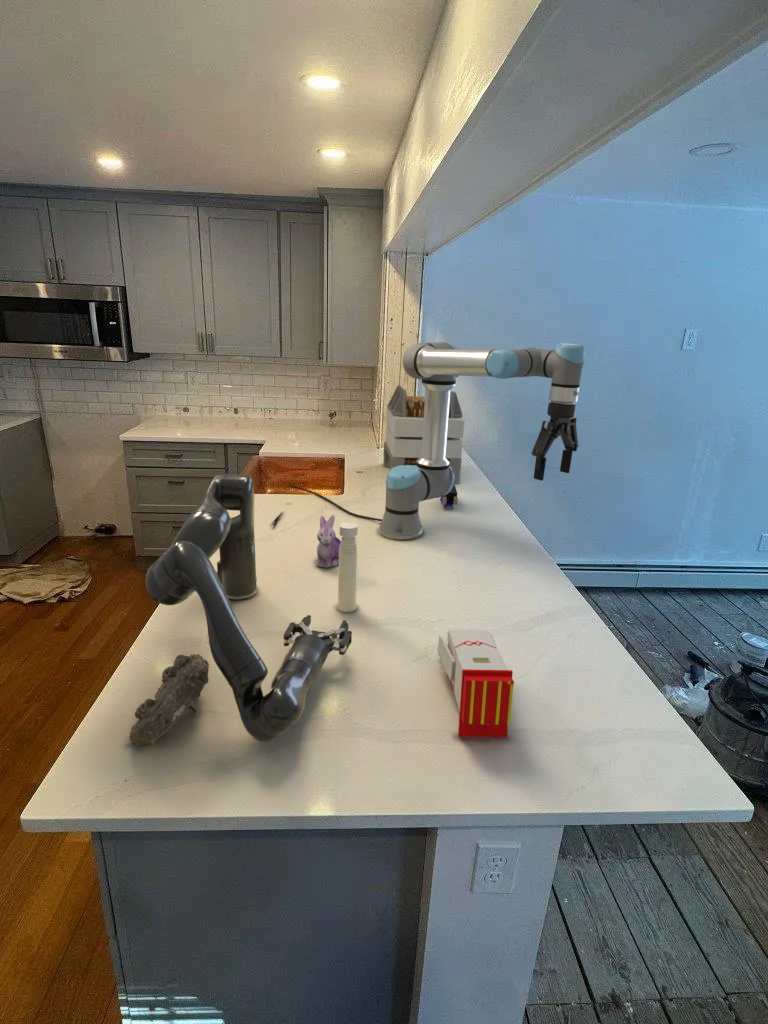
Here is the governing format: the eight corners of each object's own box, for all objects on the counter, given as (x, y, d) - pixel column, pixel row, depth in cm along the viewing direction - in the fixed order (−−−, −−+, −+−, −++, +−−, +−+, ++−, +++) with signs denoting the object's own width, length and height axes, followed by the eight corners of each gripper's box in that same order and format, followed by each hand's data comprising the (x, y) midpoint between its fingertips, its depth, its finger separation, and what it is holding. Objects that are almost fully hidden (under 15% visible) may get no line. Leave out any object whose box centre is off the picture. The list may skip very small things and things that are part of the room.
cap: (343, 529, 145) (344, 521, 144) (360, 532, 144) (360, 523, 143) (336, 535, 141) (336, 526, 140) (353, 538, 140) (353, 529, 139)
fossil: (160, 655, 118) (210, 623, 113) (193, 685, 121) (243, 655, 116) (104, 739, 99) (161, 705, 94) (145, 772, 102) (202, 741, 97)
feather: (289, 506, 225) (292, 502, 225) (272, 529, 199) (275, 525, 198) (286, 503, 225) (288, 500, 225) (268, 527, 199) (271, 522, 198)
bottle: (342, 602, 152) (343, 522, 144) (358, 605, 151) (360, 525, 143) (335, 610, 148) (336, 528, 140) (351, 613, 147) (353, 531, 139)
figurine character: (457, 514, 225) (453, 498, 239) (459, 497, 222) (455, 481, 236) (441, 513, 225) (437, 497, 239) (442, 496, 222) (439, 481, 235)
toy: (488, 613, 130) (523, 677, 101) (484, 667, 133) (517, 744, 104) (435, 612, 130) (455, 676, 101) (432, 666, 133) (451, 743, 103)
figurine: (321, 571, 169) (321, 524, 164) (309, 557, 177) (309, 512, 172) (350, 565, 173) (351, 520, 168) (337, 553, 182) (338, 509, 177)
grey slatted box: (382, 463, 289) (386, 382, 275) (445, 464, 293) (451, 384, 279) (390, 482, 257) (394, 392, 243) (460, 483, 261) (468, 394, 247)
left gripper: (271, 671, 118) (298, 630, 133) (337, 682, 116) (356, 639, 131) (270, 640, 116) (297, 602, 131) (338, 650, 113) (357, 611, 128)
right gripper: (549, 407, 146) (538, 486, 154) (598, 400, 162) (585, 472, 170) (525, 403, 152) (515, 479, 159) (574, 397, 167) (563, 466, 175)
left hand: (327, 621), depth 131 cm, fingers open, 8 cm apart
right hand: (551, 475), depth 164 cm, fingers open, 13 cm apart
